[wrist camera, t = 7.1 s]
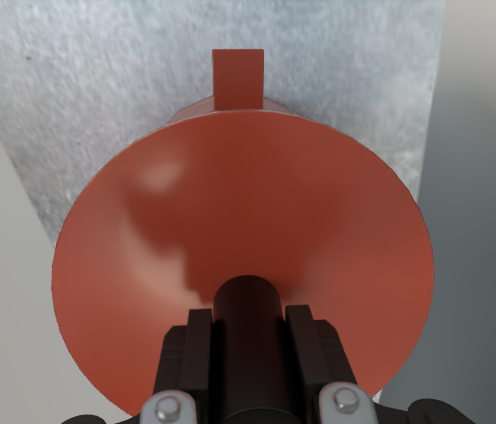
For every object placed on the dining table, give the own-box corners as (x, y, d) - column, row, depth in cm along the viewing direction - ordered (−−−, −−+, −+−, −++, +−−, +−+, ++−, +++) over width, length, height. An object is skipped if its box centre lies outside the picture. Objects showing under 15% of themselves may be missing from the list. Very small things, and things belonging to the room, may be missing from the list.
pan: (155, 299, 34) (133, 377, 26) (133, 49, 27) (95, 49, 19) (318, 295, 34) (346, 370, 26) (334, 49, 28) (377, 49, 20)
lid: (90, 431, 19) (17, 641, 12) (29, 110, 14) (-147, 169, 7) (400, 415, 19) (492, 608, 13) (447, 102, 15) (633, 150, 8)
